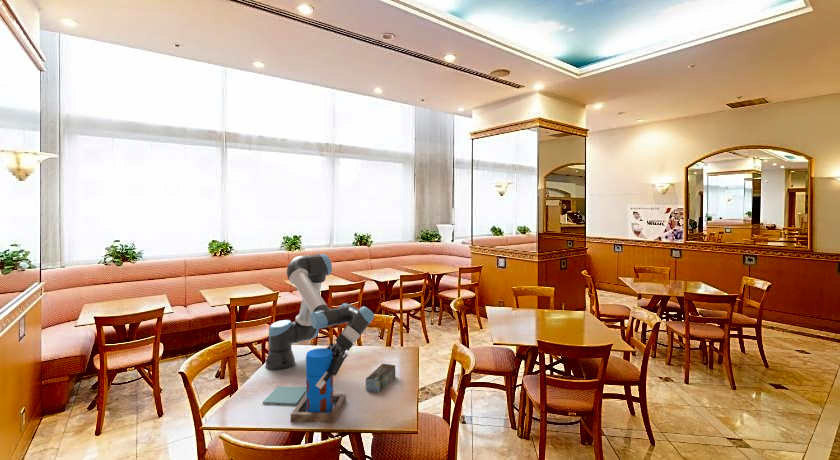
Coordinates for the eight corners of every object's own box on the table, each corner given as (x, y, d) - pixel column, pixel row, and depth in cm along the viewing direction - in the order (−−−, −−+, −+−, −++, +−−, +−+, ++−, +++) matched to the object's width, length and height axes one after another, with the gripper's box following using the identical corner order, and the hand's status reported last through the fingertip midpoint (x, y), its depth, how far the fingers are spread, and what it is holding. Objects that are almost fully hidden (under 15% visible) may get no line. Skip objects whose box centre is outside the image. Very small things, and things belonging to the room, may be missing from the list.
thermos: (336, 405, 166) (336, 348, 165) (327, 418, 155) (327, 358, 154) (312, 403, 167) (311, 347, 166) (302, 416, 156) (301, 356, 155)
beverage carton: (364, 390, 180) (364, 377, 180) (382, 374, 198) (382, 362, 198) (380, 393, 177) (380, 379, 177) (396, 376, 195) (396, 364, 195)
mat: (262, 404, 166) (262, 401, 166) (277, 388, 181) (277, 386, 181) (296, 405, 165) (296, 403, 165) (308, 389, 180) (308, 387, 180)
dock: (290, 421, 153) (290, 414, 152) (306, 399, 171) (306, 392, 170) (334, 423, 152) (334, 415, 151) (346, 400, 170) (346, 394, 169)
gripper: (365, 351, 159) (329, 397, 151) (342, 336, 178) (309, 376, 170) (353, 341, 156) (316, 388, 148) (331, 326, 175) (297, 367, 167)
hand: (313, 382), depth 159 cm, fingers closed on thermos, 11 cm apart
